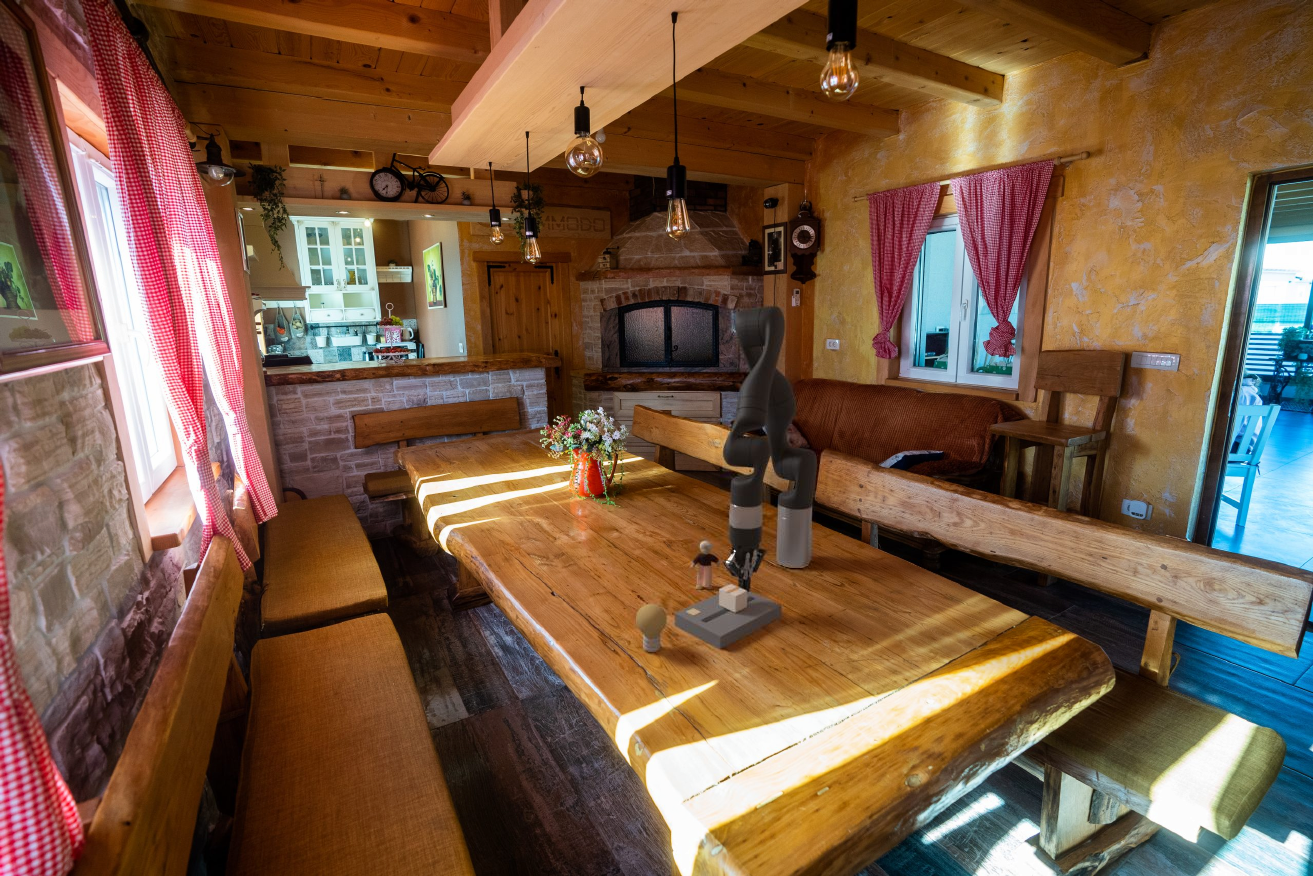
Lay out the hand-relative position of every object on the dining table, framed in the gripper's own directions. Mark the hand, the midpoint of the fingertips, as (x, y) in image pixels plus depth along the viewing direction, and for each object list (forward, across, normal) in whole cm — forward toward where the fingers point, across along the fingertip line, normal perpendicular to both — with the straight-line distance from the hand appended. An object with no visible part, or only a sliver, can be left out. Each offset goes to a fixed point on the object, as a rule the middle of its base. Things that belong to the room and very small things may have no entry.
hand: (744, 591), depth 147 cm
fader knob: (+2, +4, 0) cm, 4 cm away
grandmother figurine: (+6, -4, -16) cm, 18 cm away
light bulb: (+6, +26, -3) cm, 27 cm away
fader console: (+6, +5, 0) cm, 8 cm away
